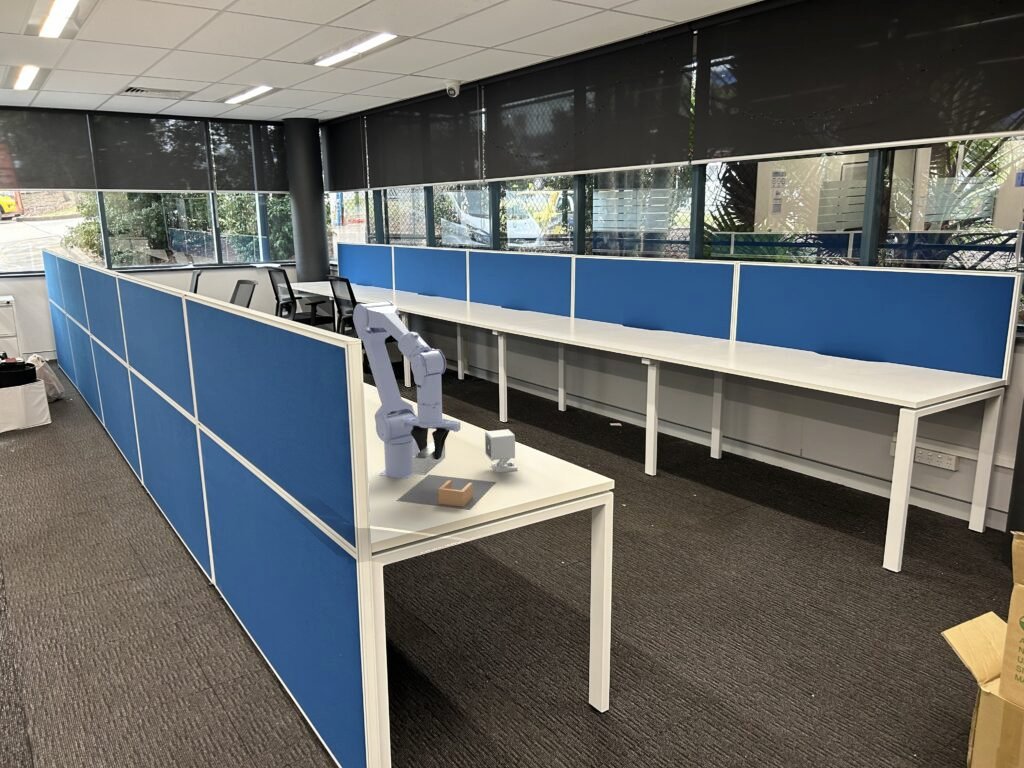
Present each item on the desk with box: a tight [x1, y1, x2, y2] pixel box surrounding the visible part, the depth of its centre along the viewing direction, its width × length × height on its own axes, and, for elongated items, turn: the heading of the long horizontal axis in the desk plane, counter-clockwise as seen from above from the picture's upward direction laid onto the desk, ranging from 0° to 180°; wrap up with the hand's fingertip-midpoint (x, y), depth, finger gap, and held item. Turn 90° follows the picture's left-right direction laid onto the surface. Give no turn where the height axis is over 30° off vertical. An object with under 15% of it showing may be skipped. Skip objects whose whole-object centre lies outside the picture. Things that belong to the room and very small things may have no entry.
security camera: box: [484, 428, 518, 473], centre depth 189 cm, size 6×7×10 cm
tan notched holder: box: [438, 480, 473, 507], centre depth 169 cm, size 6×6×4 cm
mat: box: [396, 474, 497, 511], centre depth 175 cm, size 18×18×1 cm
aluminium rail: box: [412, 440, 446, 476], centre depth 174 cm, size 12×3×4 cm, turn 162°
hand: (431, 457), depth 176 cm, fingers closed on aluminium rail, 3 cm apart
